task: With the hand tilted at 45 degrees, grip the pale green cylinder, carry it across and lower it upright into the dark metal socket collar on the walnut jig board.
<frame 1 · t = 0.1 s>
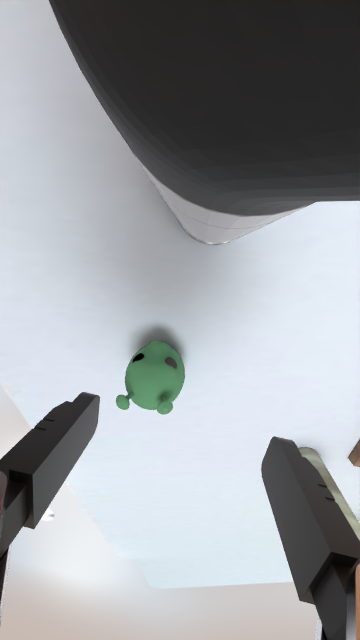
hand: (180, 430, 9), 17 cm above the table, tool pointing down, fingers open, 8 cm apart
pale green cylinder: (303, 457, 31), on the table
alien toy: (163, 353, 28), on the table
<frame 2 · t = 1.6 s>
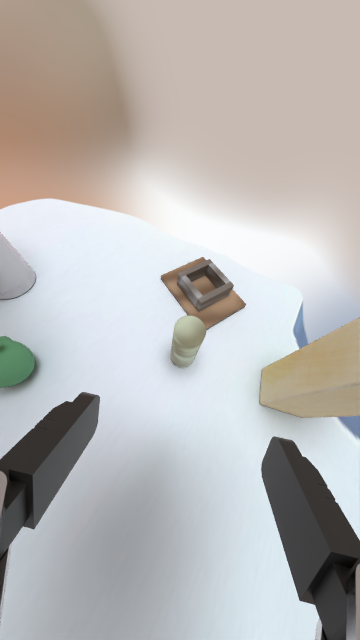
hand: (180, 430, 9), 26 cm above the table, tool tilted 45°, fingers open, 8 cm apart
jig: (201, 292, 44), on the table
pale green cylinder: (182, 356, 37), on the table
alien toy: (22, 368, 34), on the table
toy refrigerator: (281, 390, 36), on the table
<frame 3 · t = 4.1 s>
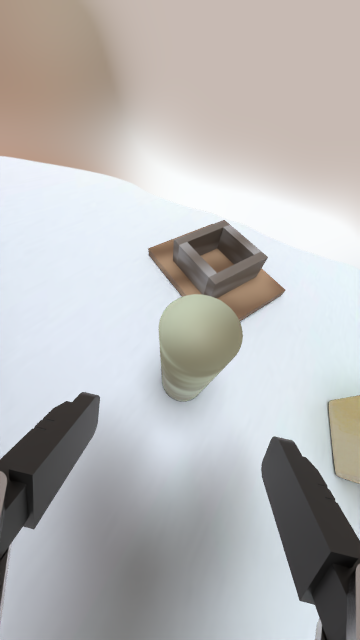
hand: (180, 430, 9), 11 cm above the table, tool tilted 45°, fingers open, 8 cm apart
jig: (212, 274, 28), on the table
pale green cylinder: (182, 379, 21), on the table
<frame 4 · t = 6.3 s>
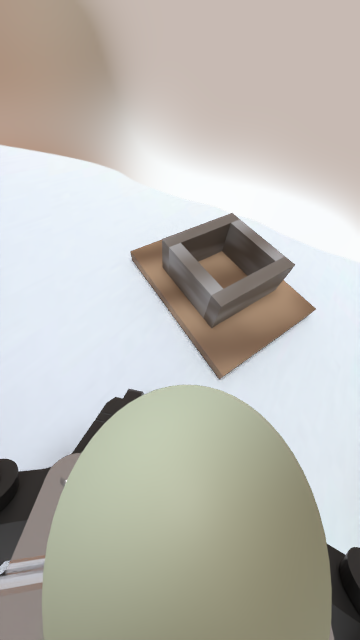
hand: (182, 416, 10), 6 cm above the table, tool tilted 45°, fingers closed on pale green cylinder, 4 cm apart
jig: (215, 286, 21), on the table
pale green cylinder: (171, 450, 14), on the table, touching gripper
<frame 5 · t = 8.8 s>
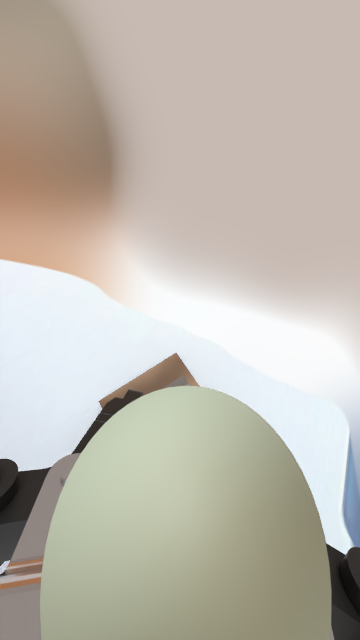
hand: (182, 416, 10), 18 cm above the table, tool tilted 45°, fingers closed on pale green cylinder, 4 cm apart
jig: (171, 429, 25), on the table
pale green cylinder: (171, 451, 14), point 12 cm above the table, touching gripper
when the fingers open (8 cm above the table, at t = 11.2 s): pale green cylinder drops 1 cm, resting on jig.
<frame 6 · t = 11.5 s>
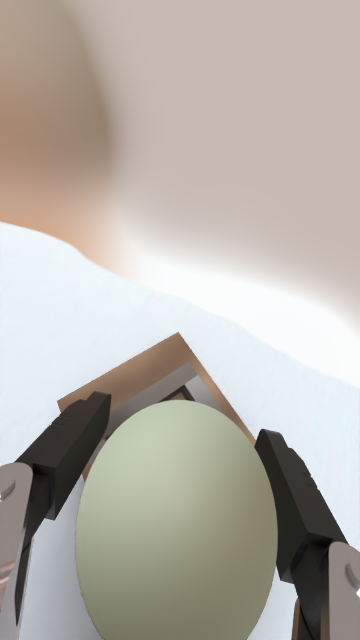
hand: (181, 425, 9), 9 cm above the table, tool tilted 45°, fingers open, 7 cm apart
jig: (169, 447, 16), on the table
pale green cylinder: (169, 450, 15), point 1 cm above the table, touching jig
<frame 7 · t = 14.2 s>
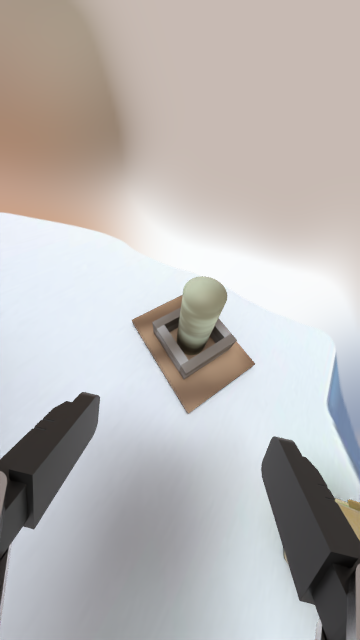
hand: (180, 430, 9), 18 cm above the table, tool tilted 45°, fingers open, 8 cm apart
jig: (190, 344, 31), on the table
pale green cylinder: (190, 341, 30), point 1 cm above the table, touching jig
toy refrigerator: (318, 523, 21), on the table
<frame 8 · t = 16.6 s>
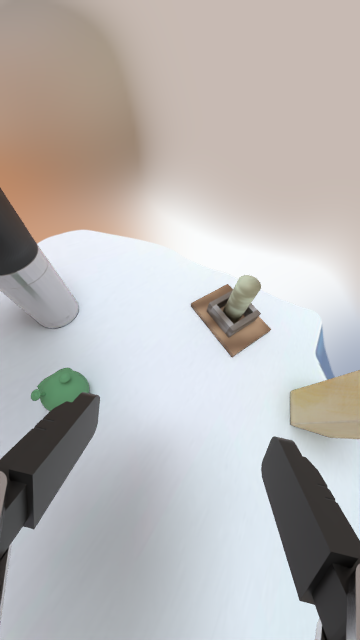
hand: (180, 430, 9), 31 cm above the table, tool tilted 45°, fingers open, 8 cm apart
jig: (228, 318, 48), on the table
pale green cylinder: (230, 316, 47), point 1 cm above the table, touching jig
alien toy: (75, 393, 38), on the table
toy refrigerator: (309, 411, 39), on the table
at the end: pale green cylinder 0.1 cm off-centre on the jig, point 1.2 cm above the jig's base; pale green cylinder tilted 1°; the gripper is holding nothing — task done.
